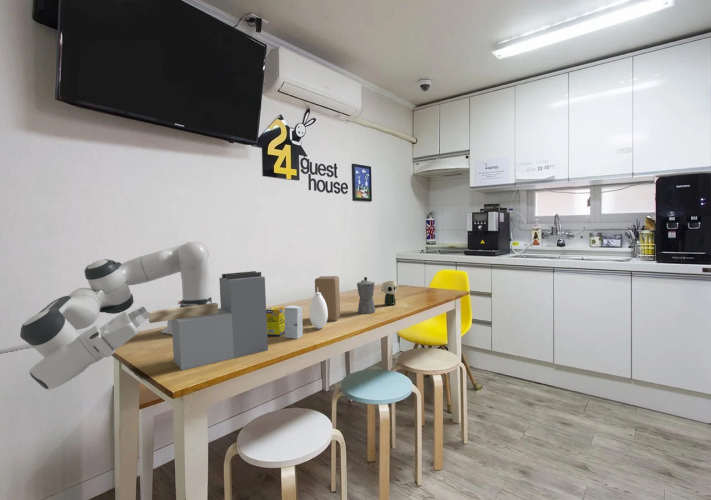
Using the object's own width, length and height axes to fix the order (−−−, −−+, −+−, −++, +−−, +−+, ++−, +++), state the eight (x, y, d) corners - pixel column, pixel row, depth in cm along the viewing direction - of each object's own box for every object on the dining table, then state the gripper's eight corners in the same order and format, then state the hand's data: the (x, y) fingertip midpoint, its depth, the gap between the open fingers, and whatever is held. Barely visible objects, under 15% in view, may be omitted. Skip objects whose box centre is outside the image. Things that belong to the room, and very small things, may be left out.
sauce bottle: (330, 326, 157) (329, 285, 156) (325, 330, 149) (323, 288, 149) (313, 325, 159) (312, 285, 158) (307, 330, 151) (305, 288, 150)
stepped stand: (181, 370, 109) (176, 280, 108) (173, 360, 119) (169, 277, 118) (267, 350, 126) (264, 272, 125) (255, 342, 136) (251, 270, 135)
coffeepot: (379, 314, 178) (377, 277, 177) (360, 315, 176) (359, 279, 175) (371, 308, 193) (370, 274, 192) (354, 309, 191) (353, 275, 190)
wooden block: (320, 316, 176) (319, 276, 176) (340, 316, 175) (339, 275, 174) (315, 321, 167) (314, 278, 166) (336, 321, 165) (335, 278, 164)
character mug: (385, 306, 194) (384, 283, 194) (378, 304, 201) (377, 281, 200) (401, 304, 199) (401, 281, 199) (394, 302, 206) (394, 280, 205)
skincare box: (284, 337, 141) (283, 307, 140) (290, 334, 145) (289, 305, 145) (298, 339, 139) (296, 308, 138) (303, 335, 143) (302, 305, 142)
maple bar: (150, 323, 108) (149, 313, 108) (148, 321, 111) (148, 311, 110) (218, 312, 120) (217, 304, 120) (215, 311, 122) (215, 302, 122)
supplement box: (280, 336, 143) (279, 309, 142) (266, 336, 144) (265, 309, 144) (286, 332, 149) (285, 306, 148) (272, 332, 150) (271, 306, 149)
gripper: (105, 341, 111) (148, 313, 118) (109, 358, 95) (158, 324, 102) (92, 325, 109) (136, 298, 116) (92, 340, 93) (144, 307, 99)
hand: (147, 310), depth 109 cm, fingers open, 8 cm apart
